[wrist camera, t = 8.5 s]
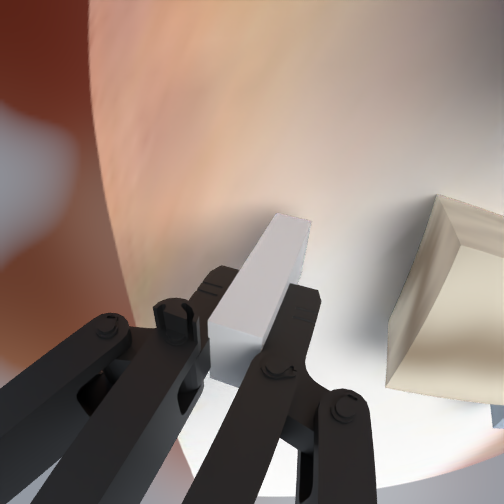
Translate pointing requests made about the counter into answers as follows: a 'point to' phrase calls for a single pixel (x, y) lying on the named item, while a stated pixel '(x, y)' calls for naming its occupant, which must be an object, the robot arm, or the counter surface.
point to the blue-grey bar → (497, 416)
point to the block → (452, 309)
